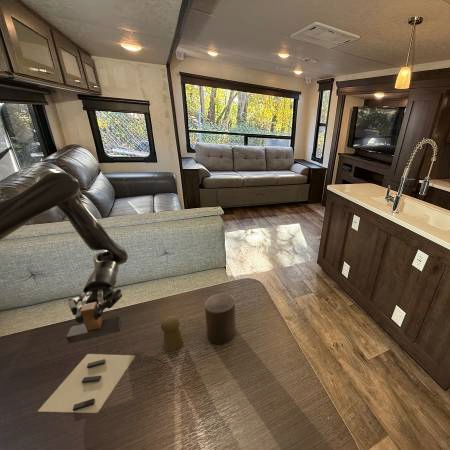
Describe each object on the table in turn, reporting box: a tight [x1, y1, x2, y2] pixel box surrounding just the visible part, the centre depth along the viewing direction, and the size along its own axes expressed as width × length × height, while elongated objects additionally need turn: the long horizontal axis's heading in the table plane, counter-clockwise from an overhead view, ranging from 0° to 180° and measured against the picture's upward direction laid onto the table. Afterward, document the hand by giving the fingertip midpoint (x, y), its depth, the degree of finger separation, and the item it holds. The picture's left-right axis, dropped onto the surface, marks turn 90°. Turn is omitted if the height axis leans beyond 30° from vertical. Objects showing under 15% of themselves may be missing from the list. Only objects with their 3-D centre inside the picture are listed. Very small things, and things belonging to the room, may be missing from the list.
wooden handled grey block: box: [66, 302, 123, 344], centre depth 72 cm, size 12×4×10 cm, turn 116°
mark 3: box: [73, 398, 95, 411], centre depth 61 cm, size 4×1×1 cm, turn 116°
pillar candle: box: [204, 293, 237, 345], centre depth 84 cm, size 10×10×15 cm
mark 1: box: [87, 359, 105, 369], centre depth 71 cm, size 4×1×1 cm, turn 116°
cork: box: [160, 315, 185, 353], centre depth 78 cm, size 6×6×11 cm
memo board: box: [37, 353, 136, 414], centre depth 67 cm, size 14×16×1 cm
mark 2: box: [82, 375, 101, 383], centre depth 67 cm, size 4×1×1 cm, turn 102°
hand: (87, 318), depth 68 cm, fingers closed on wooden handled grey block, 3 cm apart
